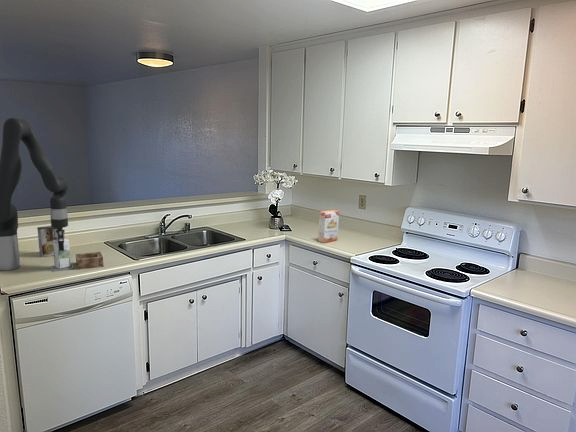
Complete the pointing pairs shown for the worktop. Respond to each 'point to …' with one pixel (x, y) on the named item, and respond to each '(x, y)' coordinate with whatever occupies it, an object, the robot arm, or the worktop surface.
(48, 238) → the coffee box
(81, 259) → the box
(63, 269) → the coaster
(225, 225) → the worktop surface
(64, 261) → the syrup box
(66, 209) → the robot arm
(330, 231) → the cracker box
